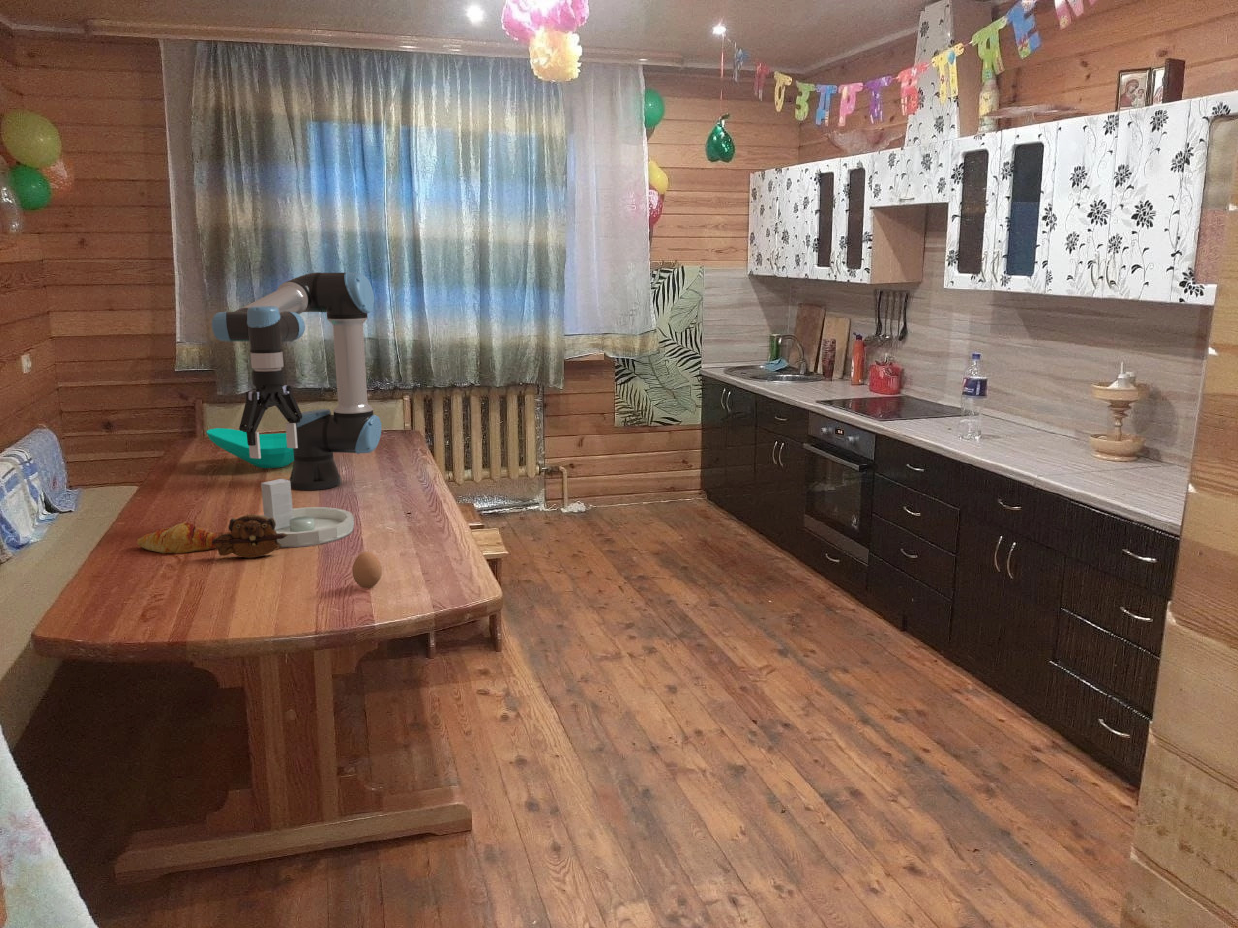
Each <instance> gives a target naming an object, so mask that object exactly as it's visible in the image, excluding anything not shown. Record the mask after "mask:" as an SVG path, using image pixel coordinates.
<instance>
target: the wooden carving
mask: <svg viewBox="0 0 1238 928" xmlns="http://www.w3.org/2000/svg"><path fill="white" fill-rule="evenodd" d="M275 526H276V523H275V520H274V519H273V518H267V517H264V516H261V515H259V514H245V515H241V516H240V517H238V518H234V517H233V518H231V519H230V520H229V524H228V530H229V531H230V533H224V534H220V535H217V536H218V537H216V538H214V540H212V543H213V544H215V546H216V549H217V552H218V555H219V556H228V555H232V554H234V555H236V556H238V557H241V558H247V559H248V558H249V559H250V558H259V557H262V556H266V555H268V554H270V553H271V552H274V551H276V550H277V549H279V548H280V546H281V544H279V543H278V542H277V539H282V538H285V537H286V536H287V534H285V533H276V531H275Z"/></svg>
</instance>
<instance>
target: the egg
mask: <svg viewBox="0 0 1238 928" xmlns="http://www.w3.org/2000/svg"><path fill="white" fill-rule="evenodd" d="M351 573H352V577H353V580H354V582H355V583H356V584H357V586H359V587H362V588H365V589H370V588H373V587H374V586H376V585H377V584H378V582H379V581H380V580H381V577H382V565H381V562H380V560H379V559H378V557H377V555H375V554H374V553H372V552H371V551H363V552H361V553H359V554H358V555H357V556H356V557H355V559H354V562H353V564H352V572H351Z"/></svg>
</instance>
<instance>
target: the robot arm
mask: <svg viewBox="0 0 1238 928" xmlns="http://www.w3.org/2000/svg"><path fill="white" fill-rule="evenodd" d="M374 304H375V295H374V290H373V287H372V285H371V283H370V280H369V279H368V277H366V276H365V275H364V274H363V273H360V272H359V273H358V272H350V271H347V272H320V271H319V272H311V273H306V274H303V275H300V276H297V277H294V278H292V279H289V280H287V281H285V282H283V283H282V284H280V285H279V286H278V288H277V290H275V291H273V292H271V293H269V294H267V295H265V296H262V297H261V298H258V299H257V300H256V301H253V302H252V303H249V304H247V305H245V306H243V307H240V308H239V309H237V310H235V311H226V310H225V311H221V312H216V313H215V314H214V315H213V318H212V319H211V328H212V332H213V333H212V334H213V336H214V337H215V338H216V339H217V340H218V341H221V342H249V352H250V364H251V369H253V370H252V372H251V379H252V385H254V386H255V391H246V393H245V398H246V399H245V404H244V407H243V412H242V416H241V420H240V423H239V427H238V430H240V431H243V432H246V433H247V443H248V445H249V452H250V458H257V459H260V458H261V453H260V441H259V434H260V432H259V431H257V430H258V427H259V425H260V423H261V422H262V419H263V417H264V414H265V412H266V411H267V410H268V409H269V408H272V407H276V408H277V410H278V411H279V413H281V414H282V416H283V417H284V419H285V420H286V421H287V422H285V433H286V437H287V448H293V453H294V461H293V465H292V469H291V473H290V477H289V481H290V484H291V489H293V490H297V491H318V490H327V489H331V488H335V487H338V486H340V485H341V484H342V479H341V477H342V476H341V474H340V473H339V470H338V467H337V464H336V462H335V459H334V453H336V454H337V453H339V454H356V455H360V454H370V453H373V452H374V451H375V450H376V449H377V447H378V445H379V442H380V441H381V436H382V421H381V418H380V416H377V414H374V408H373V407H372V406H371V405H370V404H369V403H368V389H367V370H366V356H365V338H364V324H365V322H366V321H367V320H368V314H370V313H371V312H372V311H373V310H374V307H375V306H374ZM302 313H326V319H327V321H329V322H330V324H332V330H333V333H332V334H333V346H334V347H333V348H334V362H335V373H336V374H335V375H336V376H335V377H336V389H337V391H336V392H337V406H336V407H335V408H334V409H333V414H332V412H331V410H330V409H329V408H328V409H327V408H324V409H323V408H321V409H315V410H308V411H303V412H301V410H300V407H299V405H298V403H297V401H296V398H295V396H294V394H293V388H292V385H286V384H285V383H286V381H285V371H284V370H283V368H284V355H283V345H282V343H287V342H294V341H296V340H298V339H301V337H303V335H304V333H305V330H306V325H305V321H304V319H303V316H301V315H300V314H302Z"/></svg>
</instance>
